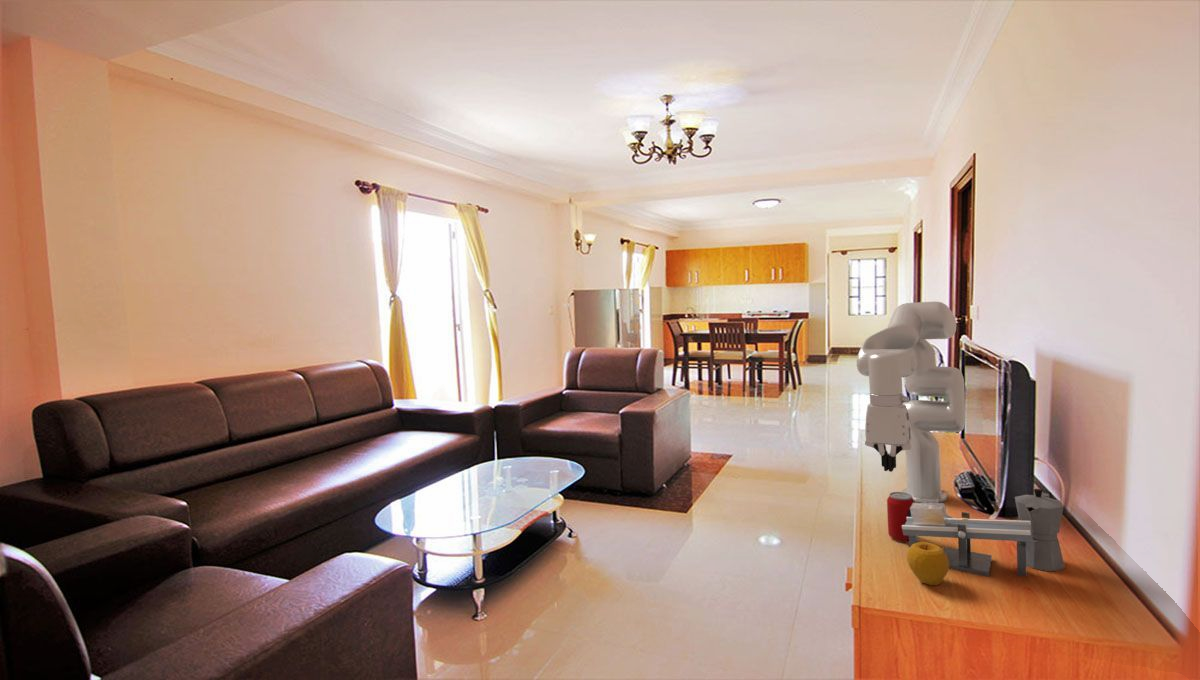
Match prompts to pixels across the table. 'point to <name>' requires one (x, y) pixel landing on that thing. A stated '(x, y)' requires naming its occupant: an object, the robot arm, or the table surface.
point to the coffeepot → (1042, 529)
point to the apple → (928, 562)
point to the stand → (975, 554)
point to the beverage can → (898, 514)
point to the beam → (975, 529)
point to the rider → (929, 514)
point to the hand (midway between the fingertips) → (889, 469)
